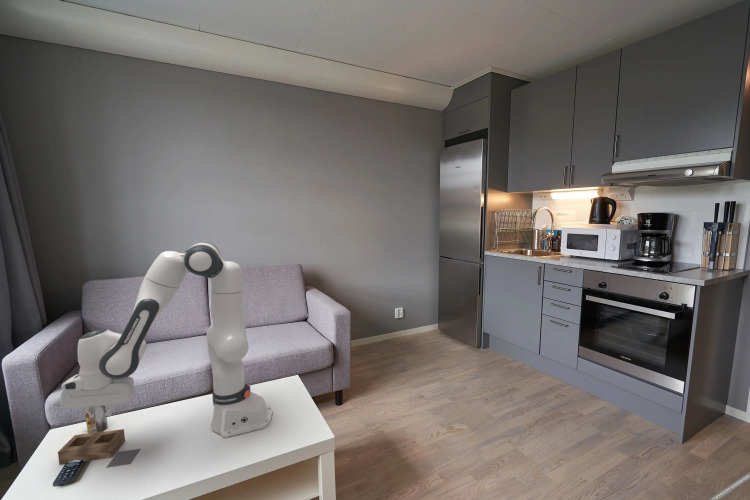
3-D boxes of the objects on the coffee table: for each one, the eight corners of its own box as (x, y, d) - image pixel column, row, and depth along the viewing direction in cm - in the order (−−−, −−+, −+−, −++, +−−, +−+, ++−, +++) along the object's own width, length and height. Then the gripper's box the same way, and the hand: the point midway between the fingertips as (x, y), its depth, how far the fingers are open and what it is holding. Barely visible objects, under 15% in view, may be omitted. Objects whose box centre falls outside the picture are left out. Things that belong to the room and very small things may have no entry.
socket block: (125, 441, 116) (123, 429, 115) (112, 458, 108) (110, 444, 108) (76, 448, 113) (74, 435, 112) (59, 465, 105) (57, 451, 104)
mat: (141, 449, 112) (140, 448, 112) (130, 465, 105) (130, 464, 105) (118, 452, 111) (118, 451, 111) (105, 468, 104) (105, 467, 104)
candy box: (103, 436, 119) (98, 398, 117) (87, 441, 116) (83, 401, 114) (106, 423, 126) (102, 386, 124) (92, 427, 124) (87, 390, 122)
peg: (109, 425, 112) (107, 398, 111) (104, 431, 109) (102, 403, 108) (99, 426, 111) (97, 399, 110) (94, 432, 108) (91, 404, 107)
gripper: (137, 370, 113) (140, 407, 115) (69, 376, 109) (73, 414, 110) (127, 379, 107) (131, 418, 109) (55, 385, 103) (59, 426, 104)
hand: (101, 416), depth 110 cm, fingers closed on peg, 3 cm apart
